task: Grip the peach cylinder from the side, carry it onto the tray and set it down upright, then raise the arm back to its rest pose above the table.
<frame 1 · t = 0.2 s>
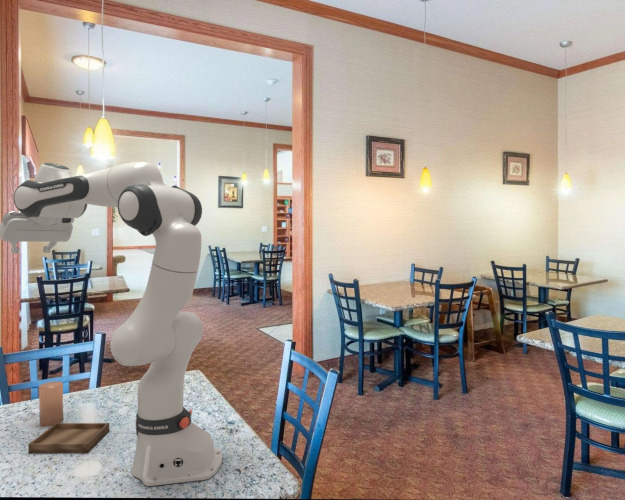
hand: (30, 252, 135), 54 cm above the table, tool tilted 30°, fingers open, 8 cm apart
peach cylinder: (51, 422, 136), on the table
tray: (71, 441, 124), on the table
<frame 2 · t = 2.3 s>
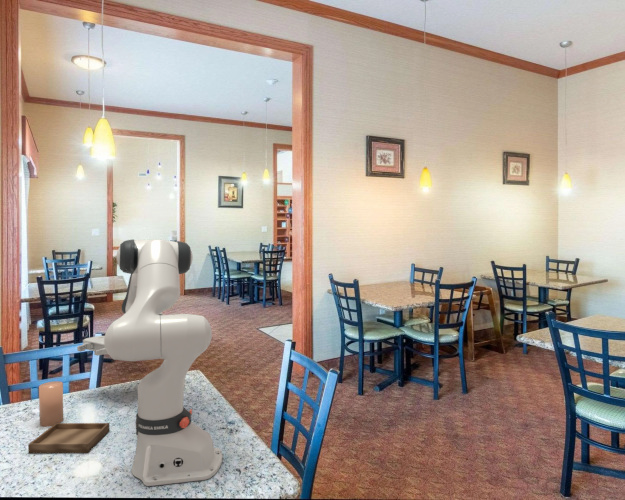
hand: (86, 351, 146), 20 cm above the table, tool horizontal, fingers open, 8 cm apart
nothing on the table moved.
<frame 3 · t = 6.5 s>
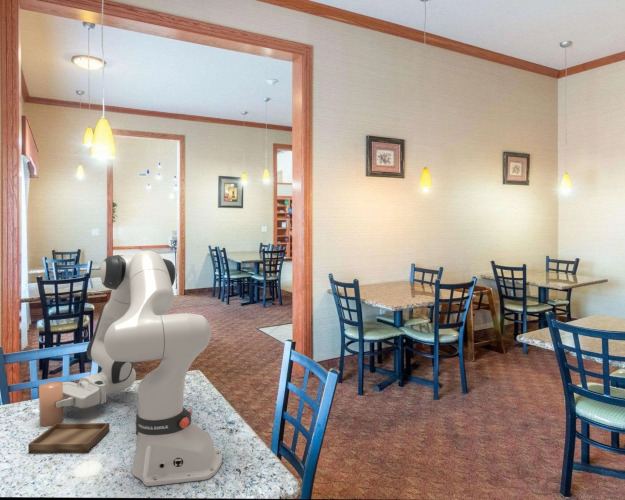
hand: (48, 402, 135), 7 cm above the table, tool horizontal, fingers closed on peach cylinder, 6 cm apart
peach cylinder: (51, 422, 136), on the table, touching gripper
everything else where it was.
when the fingers open (9 cm above the table, at t = 12.4 s): peach cylinder drops 1 cm, resting on tray.
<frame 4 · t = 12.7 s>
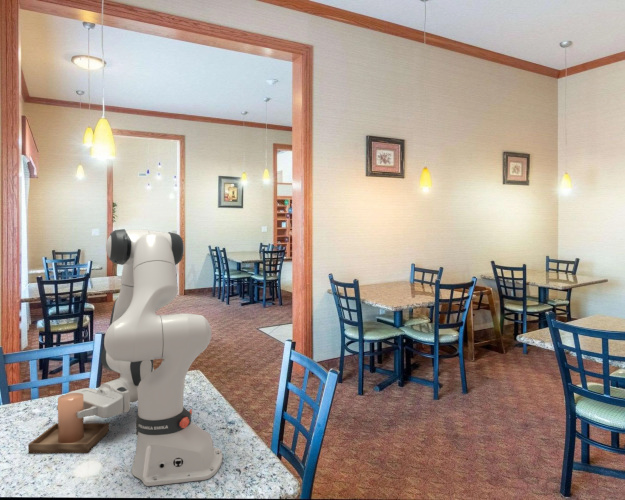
hand: (67, 411, 123), 9 cm above the table, tool horizontal, fingers open, 8 cm apart
peach cylinder: (71, 438, 124), point 1 cm above the table, touching tray
everything else where it was.
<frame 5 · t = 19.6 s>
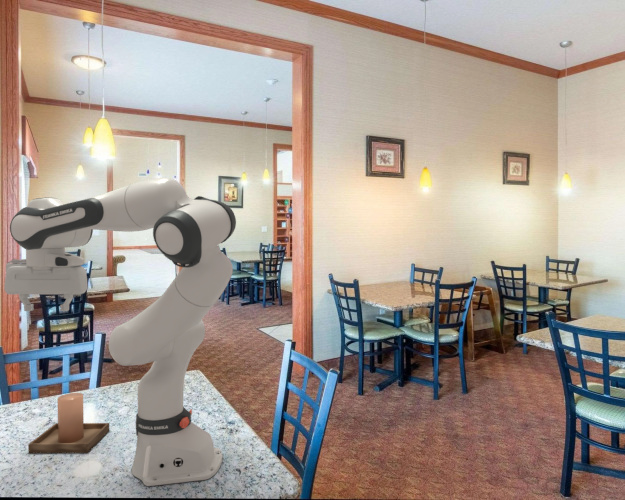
hand: (46, 310, 115), 39 cm above the table, tool pointing down, fingers open, 8 cm apart
at the end: peach cylinder inside the target area on the tray (0.0 cm from its centre), point 1.0 cm above the tray's base; peach cylinder tilted 0°; the gripper is holding nothing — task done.
